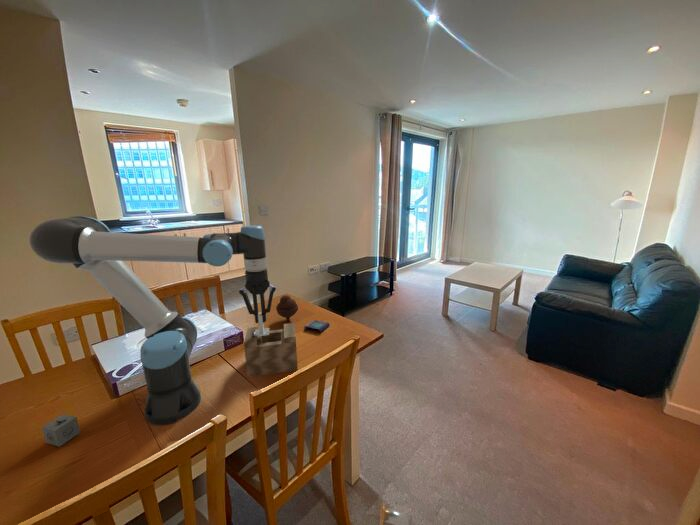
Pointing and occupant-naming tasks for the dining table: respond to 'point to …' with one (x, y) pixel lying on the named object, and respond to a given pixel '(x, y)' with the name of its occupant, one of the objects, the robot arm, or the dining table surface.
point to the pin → (394, 516)
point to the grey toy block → (61, 430)
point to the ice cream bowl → (286, 307)
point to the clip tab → (257, 333)
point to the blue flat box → (317, 325)
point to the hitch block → (271, 351)
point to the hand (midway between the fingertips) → (261, 330)
